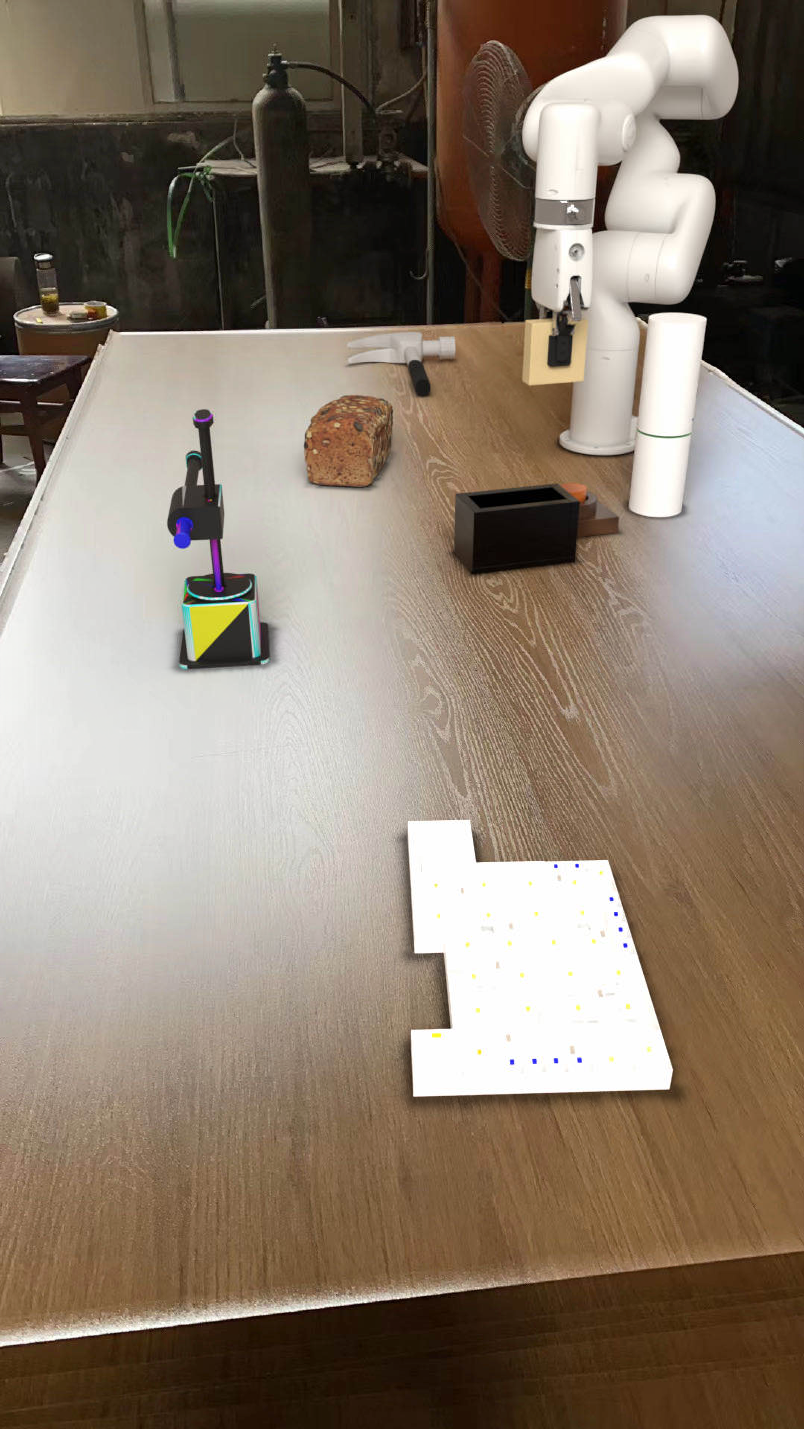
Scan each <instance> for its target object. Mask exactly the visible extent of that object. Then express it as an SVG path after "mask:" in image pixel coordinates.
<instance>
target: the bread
mask: <svg viewBox="0 0 804 1429" xmlns="http://www.w3.org/2000/svg"><path fill="white" fill-rule="evenodd" d="M393 414H394V409H393V404H392V403H391V402H390V401H388V400H385V399H384V398H382V397H376V396H372V395H362V394H361V395H360V394H349V395H347V394H345V395H342V396H341V397H339V398H338V399H333V400H332V401H329V402H327V403H326V404H325V405H323V406H321V407H320V408H319V409H318V410H317V412H316V414H314V415H313V416H312V417H311V418H310V424H309V425H308V427H307V429H306V430H305V432H304V442H303V448H304V451H303V455H304V457H303V459H304V463H305V464H306V473H307V479H308V481H309V482H310V483H314V484H317V485H320V486H323V485H324V486H341V487H353V488H354V487H355V488H364V487H367V486H369V485H372V484H373V481H374V479H375V478H376V477H377V476H378V474H379V473H380V471H381V470H382V468H383V467H384V465H385V463H386V460H387V459H388V456H389V454H390V451H391V448H392V439H393V426H394V416H393Z"/></svg>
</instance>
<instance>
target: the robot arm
mask: <svg viewBox="0 0 804 1429" xmlns="http://www.w3.org/2000/svg"><path fill="white" fill-rule="evenodd" d="M738 90H739V68H738V64H737V60H736V57H735V54H734V51H733V48H732V45H731V43H730V39H729V37H728V35H727V33H726V31H725V29H724V27H723V26H722V24H721V23H720V22H719V21H718V20H717V19H716V18H715V17H712V16H710V15H706V14H689V15H688V14H685V15H651V16H648V17H647V16H646V17H643V18H640V19H637V21H635V22H633V23H632V24H631V25H630V26H629V27H628V28H627V29H626V30H625V31H624V33H623V34H622V35H621V36H620V38H619V39H618V41H617V42H616V43H615V44H614V45H613V46H612V48H611V49H610V50H609V52H608V53H607V54H606V55H605V56H604V57H601V58H598V59H595V60H593V61H590V62H588V63H586V64H584V65H582V66H579V67H576V68H574V69H571V70H569V71H566V72H564V73H562V74H560V75H558V76H556V77H554V78H553V79H551V80H550V81H549V82H547V83H546V84H545V85H544V86H543V88H542V89H541V90H540V91H539V92H538V93H537V95H536V96H535V98H534V99H533V101H531V103H530V105H529V107H528V109H527V111H526V114H525V116H524V120H523V124H522V132H521V138H522V140H521V141H522V145H523V149H524V152H525V153H526V155H527V157H529V159H530V160H532V161H533V162H535V163H536V168H535V169H536V171H535V192H534V210H533V228H536V231H535V239H534V248H533V257H532V268H531V283H530V284H531V286H530V287H531V288H530V289H531V291H530V292H531V298H532V300H533V301H534V302H535V305H536V308H537V309H538V315H539V316H538V317H539V318H538V319H552V335H549V344H548V360H547V364H548V366H550V367H557V366H569V365H570V364H571V355H572V341H573V335H574V332H575V325H576V324H577V323H578V322H580V321H581V318H584V319H587V320H588V329H587V342H586V354H585V367H584V380H583V381H580V382H572V383H573V384H572V397H571V409H570V422H569V429H566V430H565V431H563V432H561V433H560V434H559V438H558V439H559V442H558V443H559V445H560V446H561V447H562V448H564V449H566V450H568V451H570V452H573V453H577V454H583V455H588V456H589V455H590V456H618V455H624V454H629V453H631V452H633V451H635V442H636V432H637V423H638V416H636V415H634V414H633V407H634V397H635V388H636V378H637V368H638V361H639V360H638V357H639V350H640V349H639V348H640V341H641V332H640V326H639V323H638V319H637V318H636V316H635V313H634V312H633V310H632V309H631V306H630V305H629V303H643V304H655V305H677V304H679V303H681V302H683V301H684V300H685V299H686V298H687V297H688V295H689V294H690V292H691V289H692V287H693V285H694V282H695V280H696V276H697V273H698V270H699V267H700V264H701V260H702V258H703V255H704V252H705V249H706V245H707V242H708V239H709V236H710V233H711V229H712V226H713V222H714V217H715V213H716V212H715V211H716V192H715V188H714V185H713V183H712V182H711V181H710V179H709V178H707V177H705V176H703V175H701V174H694V173H679V172H678V171H679V168H680V163H681V153H680V151H679V149H678V147H677V146H678V145H677V144H676V142H675V140H674V138H673V137H672V136H671V133H670V132H669V131H668V130H667V129H666V128H665V126H663V125H662V124H661V123H660V120H699V121H700V120H704V121H705V120H706V121H708V120H718V119H721V118H723V117H724V116H726V115H727V114H728V113H729V112H730V111H731V109H732V107H733V106H734V104H735V101H736V99H737V95H738ZM619 163H620V166H619V169H618V171H617V174H616V177H615V180H614V183H613V186H612V188H611V190H610V193H609V196H608V200H607V202H606V203H607V204H606V208H605V211H604V223H605V227H606V230H602V231H596V232H593V229H592V228H593V227H594V219H595V205H596V191H597V178H598V167H609V166H613V165H617V164H619ZM565 307H567V308H566V309H565ZM560 318H561V320H560Z"/></svg>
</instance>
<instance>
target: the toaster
mask: <svg viewBox="0 0 804 1429" xmlns="http://www.w3.org/2000/svg"><path fill="white" fill-rule="evenodd" d="M560 485H561V484H559V483H557V482H556V483H548V484H547V483H546V484H539V485H538V484H537V485H528V486H519V487H508V488H507V487H506V488H500V489H489V490H488V489H487V490H479V491H472V492H459V493H455V495H454V496H455V497H454V540H453V542H454V543H453V547H454V548H453V554H454V555H455V556H456V558H457V559H458V560H459V561H460V562H461V563H462V564H463V566H464V567H465V568H466V569H467V570H468V572H470V574H471V575H478V574H479V575H480V574H488V573H496V572H505V571H511V570H512V571H514V570H520V569H528V568H538V567H546V566H553V565H561V564H571V563H575V562H576V556H577V554H576V553H577V543H578V537H577V532H578V520H579V508H580V501H579V500H578V499H576V498H575V497H574V496H573V495H571V494H570V493H569V492H568V491H566V490H565V489H564V488H563V487H561V486H560Z"/></svg>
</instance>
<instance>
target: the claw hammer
mask: <svg viewBox="0 0 804 1429" xmlns="http://www.w3.org/2000/svg"><path fill="white" fill-rule="evenodd" d="M456 348H457V346H456V337H455V336H438V339H434V340H432V339H431V340H429V339H428V340H423V334H422V332H420V331H400V332H398V331H396V332H389V333H381V334H375V335H369V336H366V337H362V338H359V339H356V340H352V341H350V342H348V343H347V349H350V350H359V349H370V350H366V351H363V352H359V353H357V354H354V355H352V356H349V358H348V359H347V364H357V363H358V364H359V363H373V362H374V363H390V364H391V363H392V364H406V365H407V368H408V374H409V375H410V378H411V381H412V385H413V388H414V390H415V392H416V395H418V396H420V397H426V396H429V394H430V392H431V382H430V379H429V377H428V375H427V372H426V369H425V367H424V364H423V362H422V361H423V357H438V359H439V360H454V359H455V357H456Z"/></svg>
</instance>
